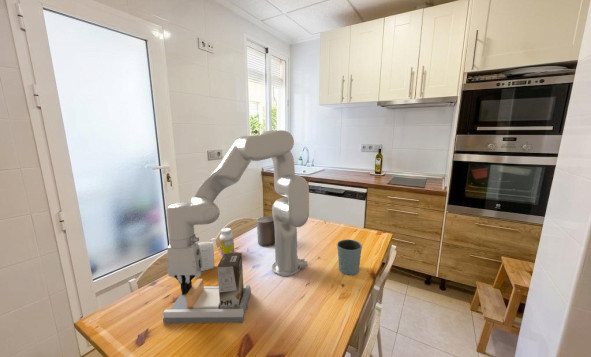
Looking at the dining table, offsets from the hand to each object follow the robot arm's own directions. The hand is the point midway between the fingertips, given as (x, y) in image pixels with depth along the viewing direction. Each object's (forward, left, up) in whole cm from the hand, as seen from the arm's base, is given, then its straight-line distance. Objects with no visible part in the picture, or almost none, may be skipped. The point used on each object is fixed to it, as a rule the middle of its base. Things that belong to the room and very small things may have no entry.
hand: (186, 291), depth 81 cm
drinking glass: (-60, -22, -6) cm, 64 cm away
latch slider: (-7, 0, -4) cm, 8 cm away
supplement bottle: (-3, -38, -6) cm, 39 cm away
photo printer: (+4, -24, -6) cm, 25 cm away
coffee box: (-15, 0, -5) cm, 16 cm away
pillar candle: (-21, -50, -6) cm, 55 cm away
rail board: (-8, 0, -6) cm, 10 cm away
